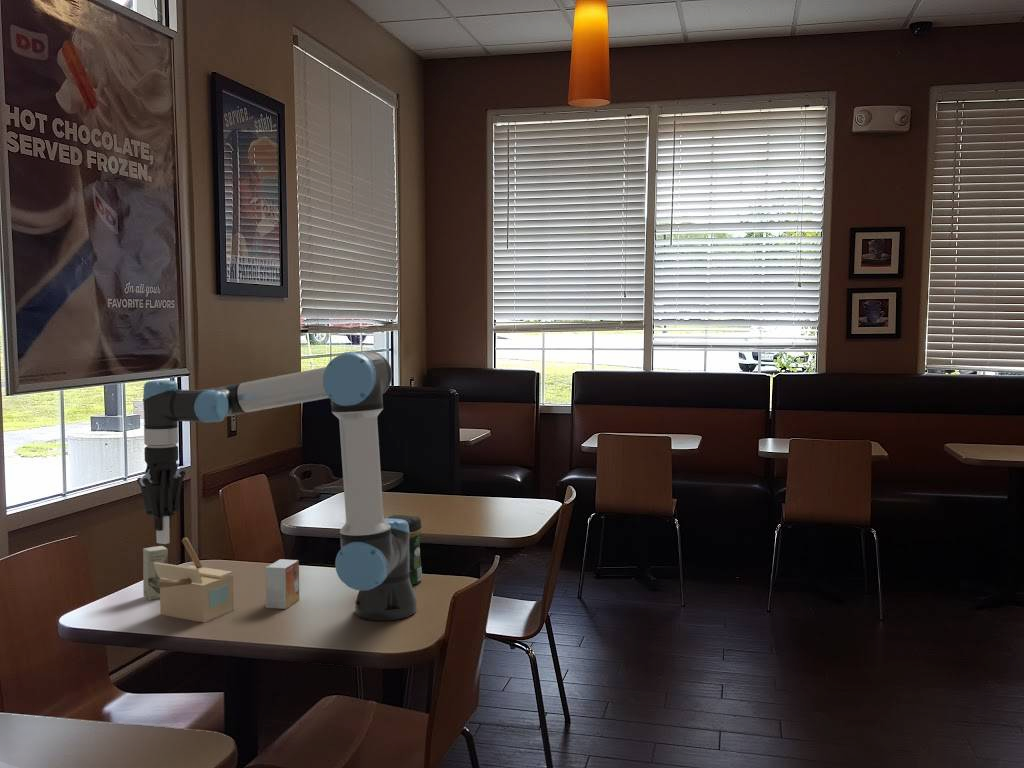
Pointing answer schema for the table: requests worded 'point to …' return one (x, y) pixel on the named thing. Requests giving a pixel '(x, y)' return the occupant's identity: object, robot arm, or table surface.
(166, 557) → the box
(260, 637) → the table surface
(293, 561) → the small box
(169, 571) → the left flap
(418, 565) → the coffee jar
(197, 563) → the right flap
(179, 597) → the carton
